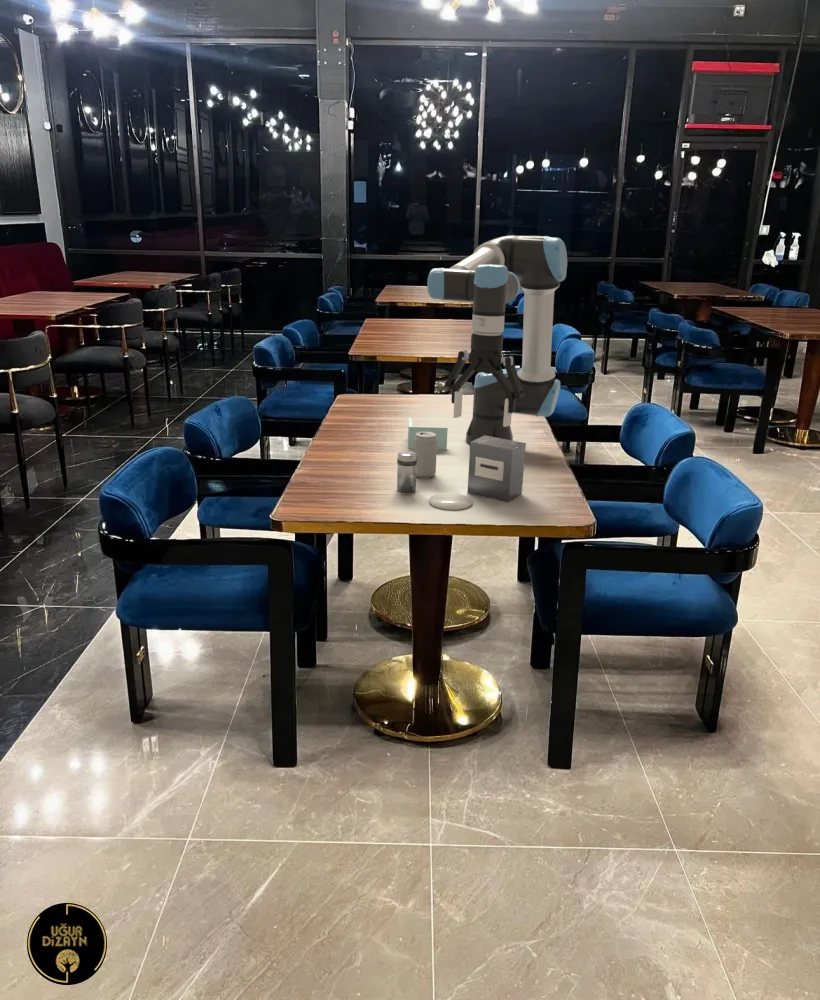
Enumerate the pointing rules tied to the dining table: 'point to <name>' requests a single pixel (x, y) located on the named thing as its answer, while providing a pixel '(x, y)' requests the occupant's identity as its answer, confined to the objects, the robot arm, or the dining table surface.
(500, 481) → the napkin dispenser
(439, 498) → the stone coaster
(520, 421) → the dining table surface
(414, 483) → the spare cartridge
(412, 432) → the l-shaped corner panel
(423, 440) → the beverage can
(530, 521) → the dining table surface
